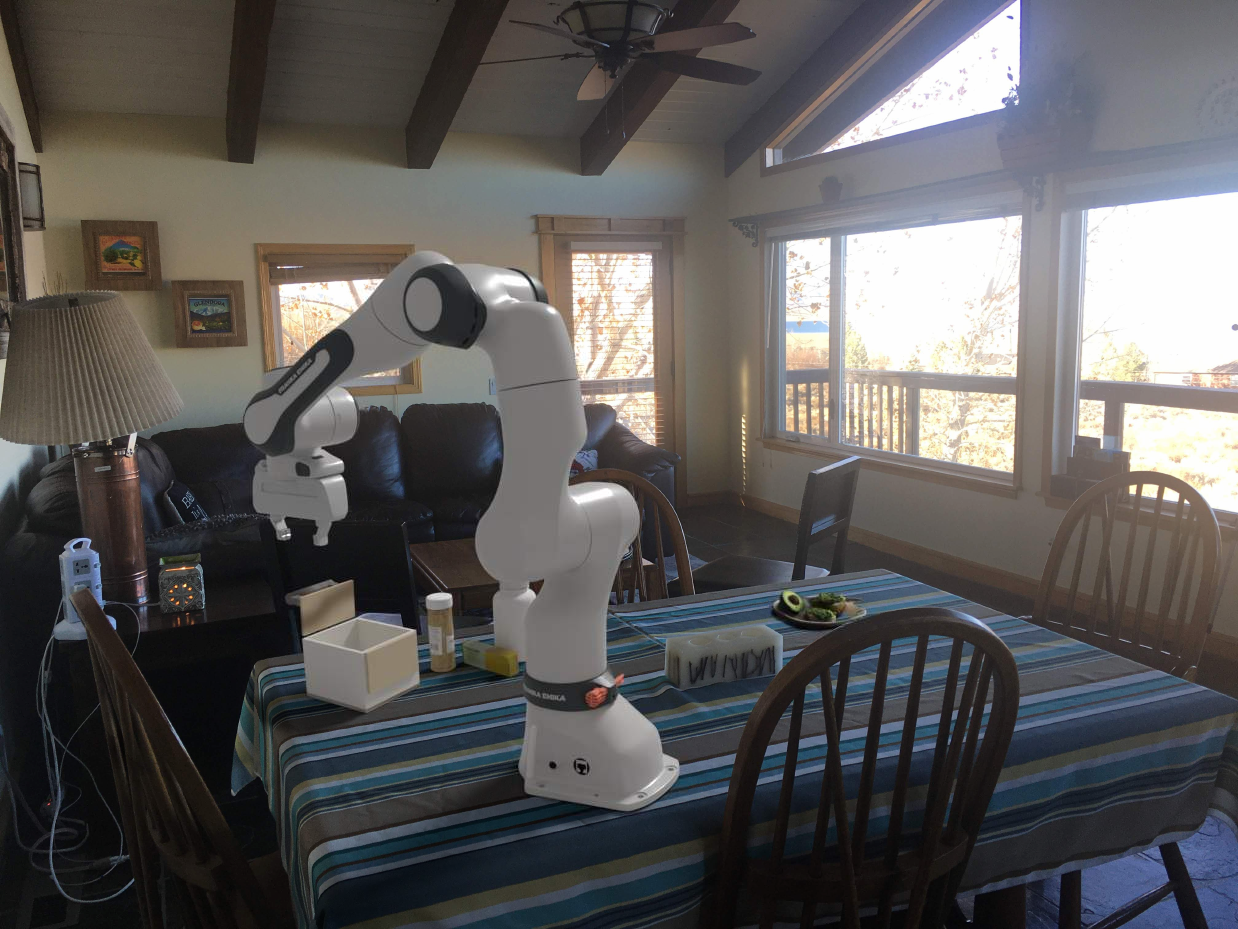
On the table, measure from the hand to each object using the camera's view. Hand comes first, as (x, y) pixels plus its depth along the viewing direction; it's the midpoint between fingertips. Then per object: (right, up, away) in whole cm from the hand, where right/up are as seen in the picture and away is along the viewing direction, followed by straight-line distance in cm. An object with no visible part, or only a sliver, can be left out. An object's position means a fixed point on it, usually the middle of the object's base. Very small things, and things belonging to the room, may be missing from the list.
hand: (302, 542), depth 158 cm
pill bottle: (+35, -22, +12) cm, 43 cm away
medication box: (+31, -23, +7) cm, 39 cm away
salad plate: (+94, -18, +30) cm, 100 cm away
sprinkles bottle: (+23, -23, +7) cm, 33 cm away
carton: (+11, -25, -2) cm, 27 cm away
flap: (+5, -11, -1) cm, 12 cm away
